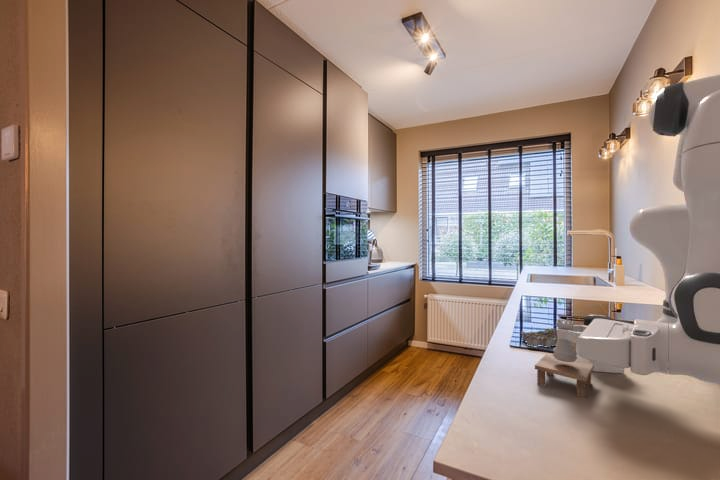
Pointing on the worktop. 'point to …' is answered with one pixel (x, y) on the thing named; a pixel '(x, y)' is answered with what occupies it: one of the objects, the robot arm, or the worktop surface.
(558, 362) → the footstool
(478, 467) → the worktop surface
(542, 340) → the mossy rock
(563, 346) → the rook chess piece
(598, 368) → the medicine bottle
